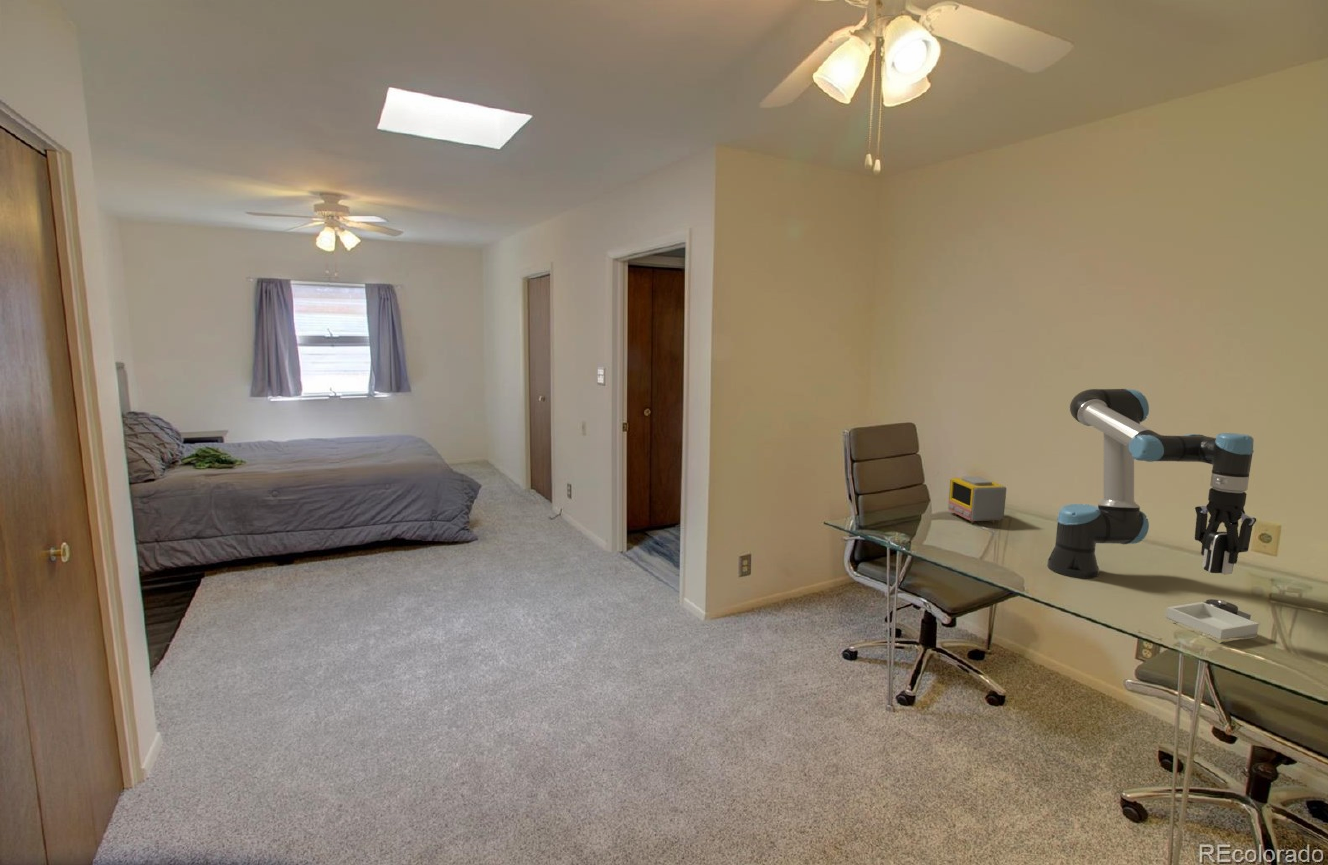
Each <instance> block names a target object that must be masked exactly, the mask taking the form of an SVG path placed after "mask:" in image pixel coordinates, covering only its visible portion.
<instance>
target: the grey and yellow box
mask: <svg viewBox="0 0 1328 865" xmlns="http://www.w3.org/2000/svg"><path fill="white" fill-rule="evenodd" d="M1006 496H1007V488H1006V486H1004V485H1002V484H999V483H996V482H995V481H991V480H989V479H986V478H984V477H983V478H982V477H980V476H974V475H973V476H972V475H971V476H969V475H967V476H962V477H952V478H950V479H949V491H948V505H947V509H948V511H950V512H952V513H954V516H957V515H958V516H960V517H961V518H964V519H965V520H968V521H969V522H970V524H974V522H981V521H982V522H983V521H984V522H985V521H992V522H993V523H995V522H996V521H1003V520H1004V518H1005V508H1006Z"/></svg>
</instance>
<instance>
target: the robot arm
mask: <svg viewBox="0 0 1328 865" xmlns="http://www.w3.org/2000/svg"><path fill="white" fill-rule="evenodd" d="M1069 404H1070V405H1069V412H1070V414H1071V416H1072V418H1074V419H1075V421H1077V423H1080V424H1082V425H1083V426H1086V427H1093V428H1094V429H1097V430H1099V431H1100V432H1101V433H1103V473H1102V474H1103V475H1102V476H1103V479H1102V480H1103V492H1102V493H1103V494H1102V495H1103V499H1102V500H1101V501H1100V502H1099V503H1098V506H1095V505H1093V504H1092V505H1091V504H1082V503H1073V504H1072V503H1071V504H1067V505H1064V506H1062V507H1061V508H1060V509H1059V511H1058V515H1057V523H1056V534H1055V546H1054V548H1053V550H1052V551H1051V554H1050V556H1049V557H1048V559H1047V568H1048V569H1049V570H1051V571H1053V572H1055V573H1058V574H1060V575H1063V576H1067V577H1072V578H1077V579H1078V578H1079V579H1093V578H1094V579H1095V578H1097V577H1098V576H1099V573H1100V568H1099V565H1098V559H1097V557H1096V546H1097V544H1119V545H1131V544H1132V545H1133V544H1134V545H1135V544H1137V543H1140V542H1142V541H1143V540H1144V539H1145V538H1146V537H1147V535H1148V533H1149V530H1150V529H1149V528H1150V522H1149V518H1147V515H1146V513H1144V512H1143V511H1141V507H1140V505H1139V504H1137V502H1135V460H1136V461H1141V462H1142V461H1144V462H1148V463H1149V462H1151V463H1152V462H1181V463H1182V462H1183V463H1184V462H1187V463H1188V462H1190V463H1192V462H1193V463H1197V462H1199V463H1205V464H1209V465H1212V469H1211V476H1210V484H1209V485H1210V487H1211V488H1209V490H1208V498H1207V499H1208V502H1207V504H1206V505H1202V506H1199V505H1198V506H1195V507H1194V509H1195V513H1196V518H1195V530H1194V540H1195V541H1198V542H1200V543H1201V550H1200V554H1201V556H1203V559H1202V567H1201V568H1202V569H1204V567H1205V566H1206V565H1207V563H1208V558H1209V553H1208V550H1207V549H1205V542H1206V538H1207V535H1208V534H1209V533H1211V532H1218V530H1219V527H1220V525H1221V524H1223V526H1224V527H1225V529H1226V530H1225V532H1227V541H1228V550H1227V551H1225V553H1224V561H1223V568H1222V573H1221V574H1222V575H1232V574H1233V571H1232V570H1234V566H1233V564H1234V565H1235V564H1236V565H1237V562H1238V559H1239V558H1238V557H1239V553H1247V552H1248V551H1249V549H1250V543H1251V537H1252V531H1253V526H1254V525H1255V524H1256V522H1257V518H1255V517H1252V516H1249V515H1248V514H1246V512H1245V505H1246V500H1247V493H1246V491H1248V488H1249V479H1250V471H1251V466H1252V465H1251V464H1252V460H1253V453H1254V451H1255V450H1254V441H1255V440H1254V438H1253V436H1251V435H1249V434H1244V433H1243V434H1242V433H1233V432H1232V433H1231V432H1221V433H1218V434H1217V435H1216V437H1213V436H1212V437H1211V436H1206V435H1204V434H1194V433H1188V434H1187V433H1186V434H1184V435H1163V434H1159V433H1157V432H1155V431H1154V430H1152V429H1150V428H1148V427H1146V426H1144V425H1142V424H1141V423H1142V422H1144V421H1145V420H1146V419H1148V418H1147V417H1148V416H1149V412H1150V406H1149V402H1148V399H1147V398H1146V396H1145V395H1144V394H1143V393H1142V392H1140V391H1139V390H1136V389H1130V388H1129V389H1128V388H1105V389H1104V388H1103V389H1102V388H1101V389H1100V388H1091V389H1085V390H1083V391H1080V392H1078V393H1077V394H1076V395H1075V396H1074V397H1073V399H1071V402H1070V403H1069ZM1208 514H1209V515H1210V516H1209V517H1208ZM1208 518H1209V519H1208ZM1239 520H1240V522H1241V525H1240V528H1238V527H1239Z"/></svg>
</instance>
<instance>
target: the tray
mask: <svg viewBox="0 0 1328 865" xmlns="http://www.w3.org/2000/svg"><path fill="white" fill-rule="evenodd" d="M1204 602H1205V601H1200V602H1198V601H1197V602H1193V603H1188V604H1187V603H1185V604H1179V605H1174V606H1169V607H1168V606H1167V607H1166V611H1165V618H1167V619H1169V620H1172V621H1174V622H1176V623H1181V624H1183V625H1185V626H1188V627H1190V628H1194V629H1197V630H1199V631H1200V632H1203V633H1206V634H1210V635H1212V636H1214V637H1216V638H1218V639H1229V638H1245V639H1244V640H1247V639H1252V638H1256V637H1258V631H1259V624H1260V623H1259V622H1256V621H1253V620H1251V619H1250V620H1248V619H1246V618H1243V617H1241V616H1238V615H1235V614H1233V613H1230V612H1227V611H1225V610H1222V609H1220V608H1217V607H1214V606H1212V605H1209V604H1206V603H1204ZM1165 618H1164V619H1165Z"/></svg>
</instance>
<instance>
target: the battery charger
mask: <svg viewBox="0 0 1328 865" xmlns="http://www.w3.org/2000/svg"><path fill="white" fill-rule="evenodd" d="M1205 549H1207V550H1208V553H1209V558H1208V563H1207V565H1206V566H1205V567H1204V568H1203V570H1204V571H1206V572H1208V573H1211V574H1222V568H1223V561H1224V553H1225V551H1227V550H1228V541H1227V532H1226V531H1217V532H1211V533H1209V534H1208V535H1207V538H1206V542H1205ZM1234 565H1235V564H1233V567H1234ZM1233 570H1234V569H1233ZM1233 570H1232V572H1233Z"/></svg>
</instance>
